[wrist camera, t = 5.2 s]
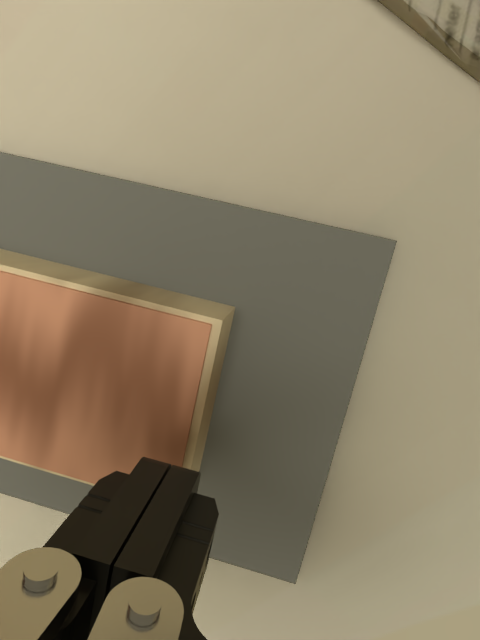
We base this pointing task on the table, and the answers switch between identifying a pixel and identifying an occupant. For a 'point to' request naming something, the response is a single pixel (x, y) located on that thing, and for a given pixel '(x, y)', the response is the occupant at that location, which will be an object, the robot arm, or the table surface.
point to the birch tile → (103, 370)
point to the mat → (243, 344)
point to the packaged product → (445, 27)
